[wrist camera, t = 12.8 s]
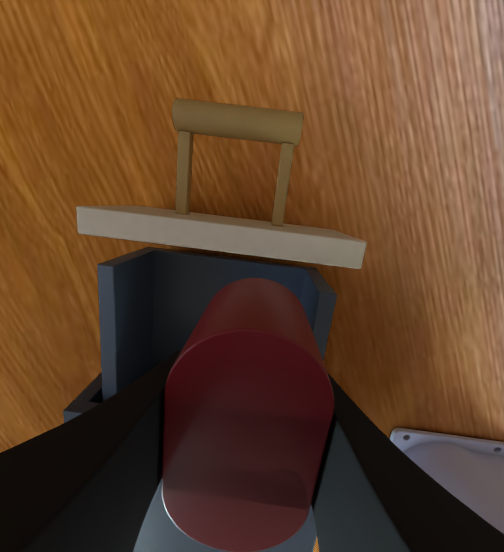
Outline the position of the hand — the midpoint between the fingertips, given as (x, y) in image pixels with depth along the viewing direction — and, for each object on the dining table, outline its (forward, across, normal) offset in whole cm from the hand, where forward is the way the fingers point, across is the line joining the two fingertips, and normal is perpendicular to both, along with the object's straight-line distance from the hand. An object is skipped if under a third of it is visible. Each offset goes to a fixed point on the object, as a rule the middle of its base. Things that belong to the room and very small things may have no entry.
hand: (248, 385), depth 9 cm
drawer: (+9, +2, -1) cm, 9 cm away
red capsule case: (+1, 0, 0) cm, 1 cm away
